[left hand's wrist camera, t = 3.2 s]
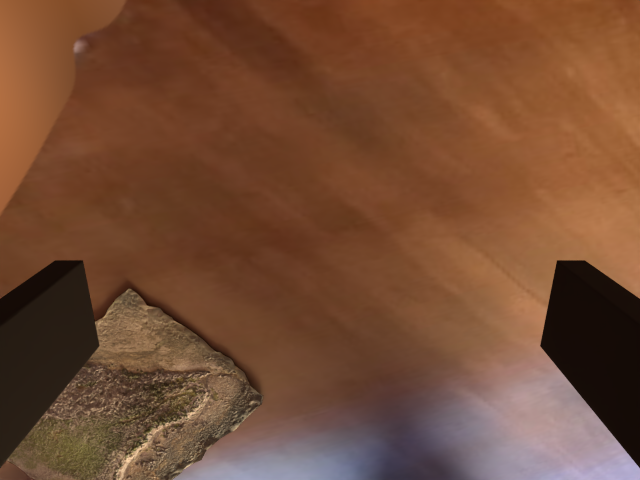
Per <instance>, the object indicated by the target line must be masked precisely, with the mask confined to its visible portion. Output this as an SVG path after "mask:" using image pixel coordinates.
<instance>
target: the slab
mask: <svg viewBox="0 0 640 480" xmlns="http://www.w3.org/2000/svg"><path fill="white" fill-rule="evenodd" d="M95 325H96V330H97V335H98V340H99V345H100V346H99V347H98V349H97V350H96V351H95V352H94V354H93V355H92V356H91V357H90V358H89V360H88V361H87V362H86V363H85V365H84V366H83V367H82V368H81V370H80V371H79V372H78V373H77V374H76V376H75V377H74V378H73V379H72V381H71V382H70V383H69V384H68V385H67V387H66V388H65V389H64V390H63V392H62V393H61V394H60V395H59V397H58V398H57V399H56V400H55V401H54V403H53V404H52V405H51V406H50V408H49V409H48V410H47V411H46V412H45V414H44V415H43V416H42V417H41V419H40V420H39V421H38V422H37V423H36V425H35V426H34V427H33V428H32V430H31V431H30V432H29V433H28V435H27V436H26V437H25V438H24V439H23V441H22V442H21V443H20V444H19V446H18V447H17V448H16V449H15V450H14V452H13V453H12V454H11V455H10V457H9V458H8V459H7V461H9V462H10V463H12V464H14V465H16V466H17V467H18V468H20V469H21V470H22V471H24V472H25V473H26V474H27V476H29V477H31V478H33V479H34V480H172V479H174V478H175V477H176V476H177V475H179V474H180V473H181V472H182V471H183V470H184V469H185V468H187V467H188V466H190V465H191V464H193V463H195V462H197V461H200V460H201V459H202V458H203V456H204V454H205V452H206V450H207V449H208V448H209V447H211V446H212V445H213V444H214V443H215V442H216V441H218V440H219V439H220V438H222V437H223V436H225V435H227V434H228V433H230V432H232V431H234V430H236V428H237V427H238V426H239V425H240V424H241V423H242V422H243V421H244V420H245V419H246V418H247V417H248V416H249V415H250V414H251V413H252V412H253V411H254V410H255V409H257V408H258V407H259V406H260V405H261V404H262V400H263V395H261V394H259V393H258V392H257V391H256V390H255V389H253V388H252V387H251V386H250V384H249V382H248V379H247V377H246V375H245V373H244V372H243V371H242V370H240V369H239V368H238V367H236V366H235V365H234V363H233V361H232V360H231V359H230V358H229V357H227V356H225V355H223V354H222V353H220V352H216V351H215V350H213V349H212V348H211V347H210V346H209V345H208V344H207V343H206V342H205V341H204V340H203V339H202V338H200V337H199V336H197V335H196V334H195V333H193V332H192V331H190V330H189V329H188V328H186V327H185V326H183V325H181V324H179V323H177V322H176V321H174V320H173V318H172V317H170V316H168V315H166V314H165V313H163V312H162V310H161V309H160V308H157V307H151V306H147V305H146V303H145V302H144V300H143V299H142V298H141V297H140V296H139V295H138V294H137V293H136V292H135V291H133V290H132V289H128V290H127V291H125V292H124V293H123V294H121V295H120V296H119V297H118V298H117V299H115V301H114V303H113V304H112V305H111V306H110V307H109V309H108V310H107V312H106V314H105V316H104V317H103V318H101V319H99V320H97V321H96V322H95Z"/></svg>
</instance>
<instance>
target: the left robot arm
mask: <svg viewBox="0 0 640 480" xmlns="http://www.w3.org/2000/svg"><path fill="white" fill-rule="evenodd" d="M99 346H100V345H99V340H98V335H97V330H96V325H95V320H94V315H93V309H92V304H91V299H90V294H89V289H88V284H87V279H86V274H85V269H84V264H83V261H54V262H52V263H51V264H50V265H48V266H47V267H45V268H44V269H42V270H41V271H39V272H38V273H37V274H35V275H34V276H32V277H31V278H29V279H28V280H27V281H25V282H24V283H22V284H21V285H19V286H18V287H17V288H15V289H14V290H12V291H11V292H9V293H8V294H7V295H5V296H4V297H2V298H1V299H0V468H1V466H2V465H3V464H4V463H5V461H6V460H7V459H8V458H9V457H10V455H11V454H12V453H13V452H14V450H15V449H16V448H17V447H18V446H19V444H20V443H21V442H22V441H23V439H24V438H25V437H26V436H27V435H28V433H29V432H30V431H31V430H32V428H33V427H34V426H35V425H36V423H37V422H38V421H39V420H40V419H41V417H42V416H43V415H44V414H45V412H46V411H47V410H48V409H49V408H50V406H51V405H52V404H53V403H54V401H55V400H56V399H57V398H58V397H59V395H60V394H61V393H62V392H63V390H64V389H65V388H66V387H67V385H68V384H69V383H70V382H71V381H72V379H73V378H74V377H75V376H76V374H77V373H78V372H79V371H80V370H81V368H82V367H83V366H84V365H85V363H86V362H87V361H88V360H89V358H90V357H91V356H92V355H93V354H94V352H95V351H96V350H97V349H98V347H99ZM540 346H541V347H542V349H543V350H544V351H545V352H546V354H547V355H548V356H549V357H550V358H551V360H552V361H553V362H554V363H555V365H556V366H557V367H558V368H559V370H560V371H561V372H562V373H563V374H564V376H565V377H566V378H567V379H568V381H569V382H570V383H571V384H572V385H573V387H574V388H575V389H576V390H577V392H578V393H579V394H580V395H581V397H582V398H583V399H584V400H585V401H586V403H587V404H588V405H589V406H590V408H591V409H592V410H593V411H594V412H595V414H596V415H597V416H598V417H599V419H600V420H601V421H602V422H603V423H604V425H605V426H606V427H607V428H608V430H609V431H610V432H611V433H612V435H613V436H614V437H615V438H616V439H617V441H618V442H619V443H620V444H621V446H622V447H623V448H624V449H625V450H626V452H627V453H628V454H629V455H630V457H631V458H632V459H633V460H634V461H635V463H636V464H637V465H638V466H639V468H640V299H639V298H638V297H636V296H635V295H633V294H632V293H631V292H629V291H628V290H626V289H625V288H623V287H622V286H621V285H619V284H618V283H616V282H615V281H613V280H612V279H611V278H609V277H608V276H606V275H605V274H603V273H602V272H601V271H599V270H598V269H596V268H595V267H593V266H592V265H590V264H589V263H588V262H586V261H557V264H556V269H555V274H554V279H553V284H552V289H551V294H550V299H549V304H548V309H547V315H546V320H545V325H544V330H543V335H542V340H541V345H540Z"/></svg>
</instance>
